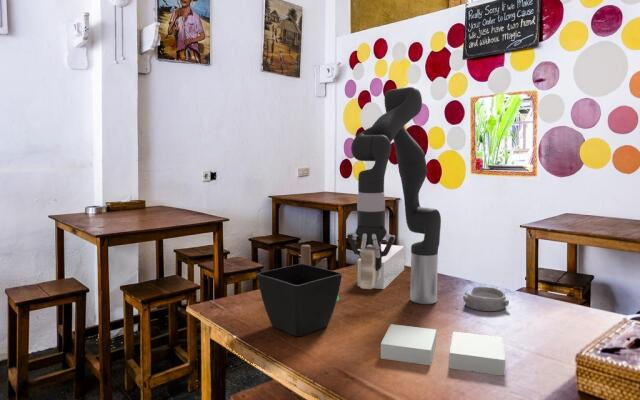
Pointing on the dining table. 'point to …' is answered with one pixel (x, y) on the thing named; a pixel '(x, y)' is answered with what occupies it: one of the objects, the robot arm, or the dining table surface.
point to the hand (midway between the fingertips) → (371, 269)
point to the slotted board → (464, 350)
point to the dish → (486, 299)
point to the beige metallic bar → (369, 268)
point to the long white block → (387, 266)
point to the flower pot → (299, 297)
